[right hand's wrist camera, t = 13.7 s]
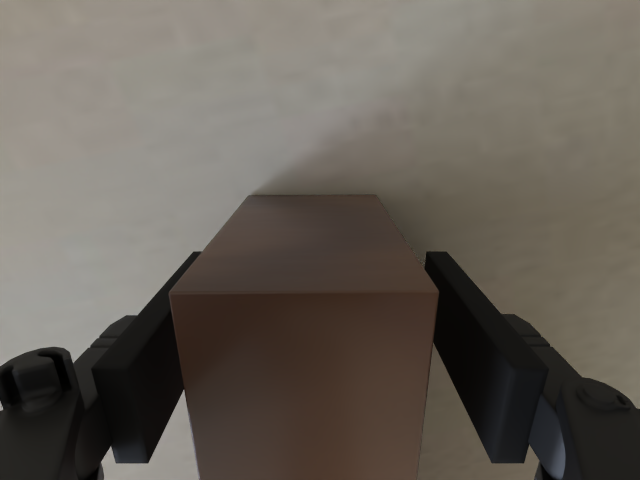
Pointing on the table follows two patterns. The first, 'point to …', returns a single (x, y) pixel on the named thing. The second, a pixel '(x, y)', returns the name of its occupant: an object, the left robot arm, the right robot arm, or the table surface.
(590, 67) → the table surface
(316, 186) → the table surface
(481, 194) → the table surface
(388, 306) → the beam
